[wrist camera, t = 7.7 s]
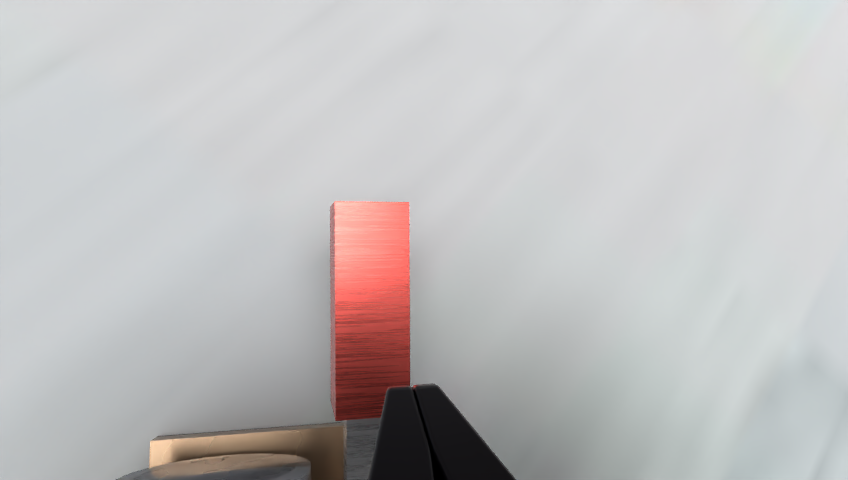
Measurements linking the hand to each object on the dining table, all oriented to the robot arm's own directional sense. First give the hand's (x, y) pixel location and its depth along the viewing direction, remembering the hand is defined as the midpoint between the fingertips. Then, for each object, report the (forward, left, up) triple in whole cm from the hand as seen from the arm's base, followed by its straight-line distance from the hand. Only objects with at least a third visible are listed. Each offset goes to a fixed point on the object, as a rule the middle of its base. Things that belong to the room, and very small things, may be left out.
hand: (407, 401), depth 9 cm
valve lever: (-5, +3, -6) cm, 9 cm away
